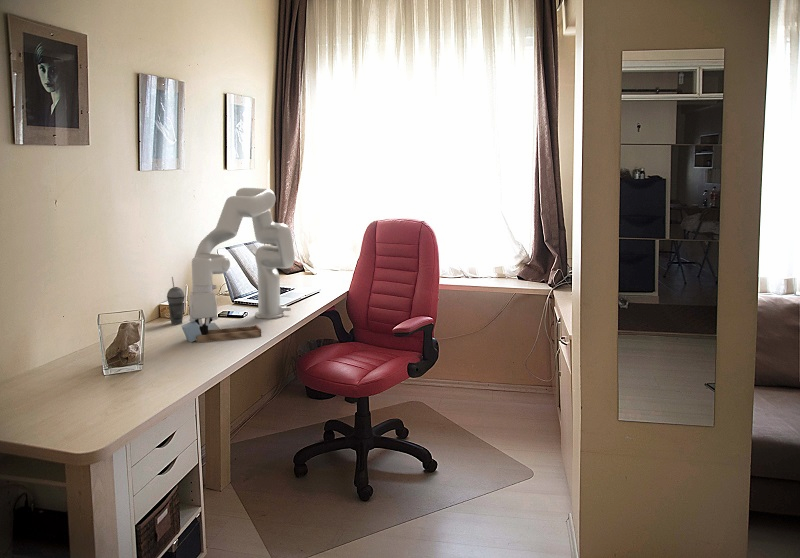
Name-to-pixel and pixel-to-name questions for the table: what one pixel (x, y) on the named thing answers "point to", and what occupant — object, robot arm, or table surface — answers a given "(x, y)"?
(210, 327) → the pad
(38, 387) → the table surface
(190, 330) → the block
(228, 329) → the channel
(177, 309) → the beverage cup
